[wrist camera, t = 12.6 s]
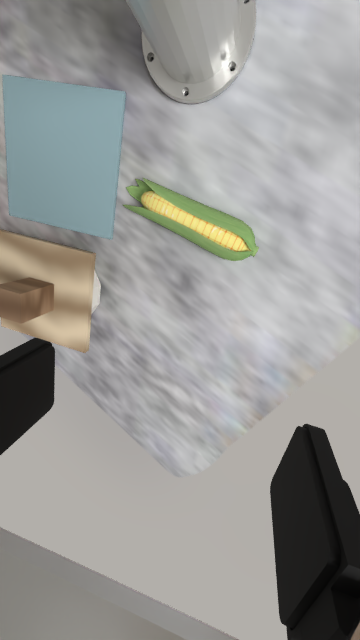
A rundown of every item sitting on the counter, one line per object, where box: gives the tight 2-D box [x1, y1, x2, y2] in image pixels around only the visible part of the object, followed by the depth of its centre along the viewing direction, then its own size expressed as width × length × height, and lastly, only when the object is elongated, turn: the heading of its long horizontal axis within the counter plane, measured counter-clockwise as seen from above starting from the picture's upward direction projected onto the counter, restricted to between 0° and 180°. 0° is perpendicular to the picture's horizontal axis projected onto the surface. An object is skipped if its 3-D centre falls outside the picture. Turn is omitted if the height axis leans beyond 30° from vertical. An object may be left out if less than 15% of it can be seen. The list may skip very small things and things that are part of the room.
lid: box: [0, 229, 96, 353], centre depth 36 cm, size 15×15×7 cm
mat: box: [2, 75, 126, 240], centre depth 38 cm, size 18×18×1 cm
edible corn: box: [123, 178, 259, 261], centre depth 34 cm, size 5×20×4 cm, turn 66°
